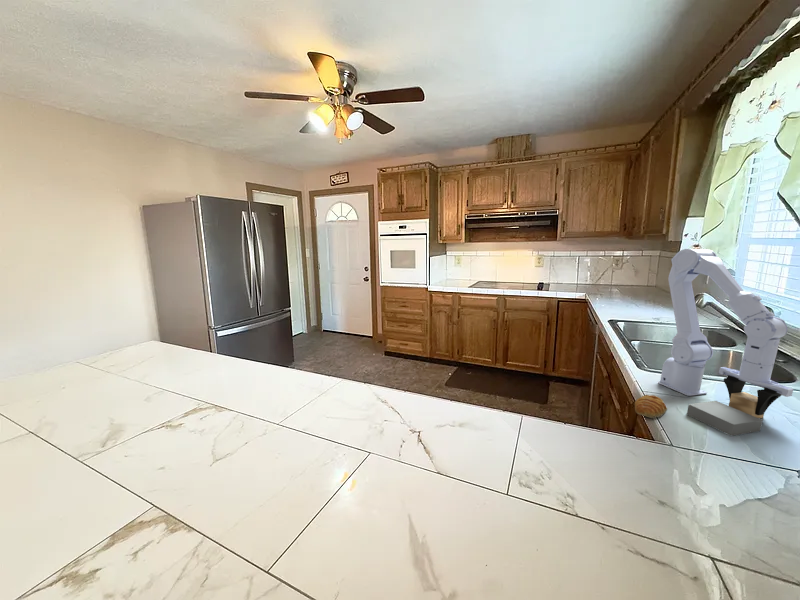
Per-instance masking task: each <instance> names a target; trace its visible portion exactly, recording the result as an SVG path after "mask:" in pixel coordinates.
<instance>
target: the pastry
mask: <svg viewBox="0 0 800 600" xmlns="http://www.w3.org/2000/svg"><path fill="white" fill-rule="evenodd" d="M634 411H635V413H636V414H637V415H640V416H644V417H646V418H649V419H654V418H661V416H663V415H664V414H665V413H666V412H667V411H668V407H667V406H666V403H665V402H664V400H663V399H662V398H661V397H659V396H657V395H652V394H651V395H649V394H645V395H642V396H641V397H638V398H637V399H636V401H634Z"/></svg>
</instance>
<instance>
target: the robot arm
mask: <svg viewBox="0 0 800 600" xmlns="http://www.w3.org/2000/svg"><path fill="white" fill-rule="evenodd" d="M671 264H672V265H671V268H670V271H669V273H668V274H669V275H668V276H667V277H668V279H667V280H668V286H669V290H670V292H669V293H670V297H671V302H672V308H673V314H674V320H675V325H676V332H677V333H676V334H675V335H674V337H673V338H672V347H671V348H670V354H671V357H668V358H667V359H666V360H665V361H664V362H663V364H662V369H661V375H660V379H659V380H660V381H657V382H658V384H660V385H663V386H665V387H666V388H669V389H672V390H673V391H675V392H678V393H680V394H683V395H685V396H687V397H691V396H699V395H707V394H708V392H707V391H705V390H703V389H701V387H702V381H703V377H704V373H705V368H706V363H707V361H709V360H711V359H712V358H713V355H714V350H713V348H712V346H711V345H710V343H709V342H708V337H707V336H706V335H705V334H704V333H702V332H701V328H700V322H699V316H698V311H697V305H696V300H695V299H696V298H695V295H694V289H693V281H694V280H695V279H696V278H697V277H698V276H699V275H705V276H708V277H709V278H710V279H711V280H712V282H714V283H715V285H716V286H718V288H719V289H720V290H721V291H723V293H724V294H725V295H726V296H727V297H728V301H727V305H728V306H729V308H730V309H731V310H732V312H733V313H734V314H735V315H736V316H737V318H739V320H740V321H741V322H742V323H743V325H745V326H743V331H744V333H745V335H746V337H747V338H746V342H745V347H744V351H743V354H742V360H741V364H740V367H739V370H738V369H733V368H730V367H727V366H722V367H719V370H718V375H722V376H725V377H724V378H723V383H724V384H725V386H726V389H727V392H728V396H729V399H730V398H731V393H740V392H743V390H744V386H745V385H746V384H750V385H753V386H755V387H756V386H757V387H758V388H761V389H757V391H756V393H757V397H758V401H757V406H756V410H755V414H756V415H764V416H765V413H766V411H767V410H768V408H769V407H770V406H771V405H772V404H773V403H774V402H775V401H776V400H777V399H779V398H781V396H783V397H787V398H788V397H789V398H790V397H793V393H794V388H791V387H788V386H785V385H783V384H781V383H779V382H776V381H774V380H772V379H771V377H772V375H773V374H772V373H773V369H774V365H775V363H776V362H775V361H776V358H777V354H778V350H779V345H780V342H781V338H783V337H784V336H786V335H787V334H788V330H789V328H788V325H787V324H786V321H785V320H784V319H782V318H780V317H777V316H775V313H774V312H773V311H769V309H768V308H767V307H766V305H764V304H763V303H762V302H761V300H762V298H761V296H760V295H755V294H754V293H752V292H747V291H744V289H742V287H741V285H740V284H739V283H738V281H737V280H736V279H735V277H733V275H732V274H731V271H729V269H728V268H727V267H726V266H725V264H724V262H723V259H722V258H720V256H718V255H717V253H716V252H715V251H714V250H712V249H707V248H706V249H697V248H696V249H695V248H693V249H692V248H683V249H681V250H679V251H678V252H677V253H675V255H674V256H673V257H671Z"/></svg>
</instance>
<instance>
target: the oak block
mask: <svg viewBox="0 0 800 600" xmlns="http://www.w3.org/2000/svg"><path fill="white" fill-rule="evenodd" d="M757 401H758V395H757V396H756V395H753V394H751V393H750V392H745V391H742V392H740V393H731V398H729V402H728V406H730V407H732V408H735V409H737V410H740V411H742V412H744V413H747V414H749V415H752V416H754V417H757V418H759V419H763V418H764V416H765V414H764V415H756V414H755V410H756V406H757Z"/></svg>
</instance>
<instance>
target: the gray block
mask: <svg viewBox="0 0 800 600" xmlns="http://www.w3.org/2000/svg"><path fill="white" fill-rule="evenodd" d="M686 411H687V412H686V415H687V416H689V417H691V418H693V419H695V420H698V421H699V422H702V423H703V424H705V425H708V426H710V427H712V428H714V429H716V430H718V431H720V432H722V433H724V434H726V435H729V436H730V437H732V436H738V435H745V434H752V433H757V432H760V431H761V429H762V424H763V422H764V420H763V419H762V418H757V417H754V416H752V415H749V414H747V413H744V412H742V411H740V410H737V409H735V408H732V407H730V406H729V405H728V404H724V403H722V402H720V401H718V400H713V401H710V400H709V401H702V402H696V403H688V406H687V410H686Z"/></svg>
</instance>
